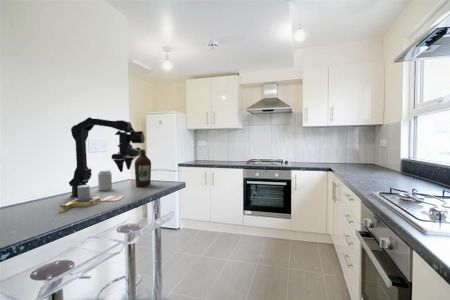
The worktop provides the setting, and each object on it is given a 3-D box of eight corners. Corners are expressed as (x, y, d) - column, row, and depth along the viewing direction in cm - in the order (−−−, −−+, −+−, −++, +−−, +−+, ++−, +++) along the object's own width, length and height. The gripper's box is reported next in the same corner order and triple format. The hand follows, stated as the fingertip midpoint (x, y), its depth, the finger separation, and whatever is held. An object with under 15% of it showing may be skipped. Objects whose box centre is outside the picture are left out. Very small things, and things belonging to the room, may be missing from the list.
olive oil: (133, 185, 154) (133, 149, 152) (149, 183, 159) (148, 149, 158) (136, 188, 145) (135, 150, 143) (153, 186, 150) (152, 149, 149)
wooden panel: (99, 201, 114) (99, 200, 114) (107, 196, 123) (107, 196, 123) (117, 201, 115) (117, 200, 115) (124, 196, 124) (124, 195, 124)
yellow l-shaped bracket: (58, 211, 98) (58, 205, 98) (70, 206, 106) (70, 200, 106) (80, 211, 98) (80, 205, 98) (90, 205, 107) (90, 199, 107)
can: (96, 191, 137) (96, 171, 136) (100, 188, 144) (99, 170, 143) (110, 190, 139) (109, 171, 138) (113, 188, 146) (112, 169, 145)
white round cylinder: (75, 205, 107) (75, 187, 106) (81, 202, 112) (81, 185, 111) (86, 205, 107) (86, 187, 107) (92, 202, 112) (91, 184, 112)
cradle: (70, 205, 107) (69, 201, 107) (78, 201, 115) (78, 197, 115) (93, 204, 108) (93, 200, 108) (101, 200, 116) (101, 196, 115)
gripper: (132, 143, 116) (132, 173, 117) (145, 143, 134) (145, 168, 135) (110, 143, 116) (111, 173, 117) (126, 142, 134) (126, 168, 135)
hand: (125, 170), depth 126 cm, fingers open, 9 cm apart
